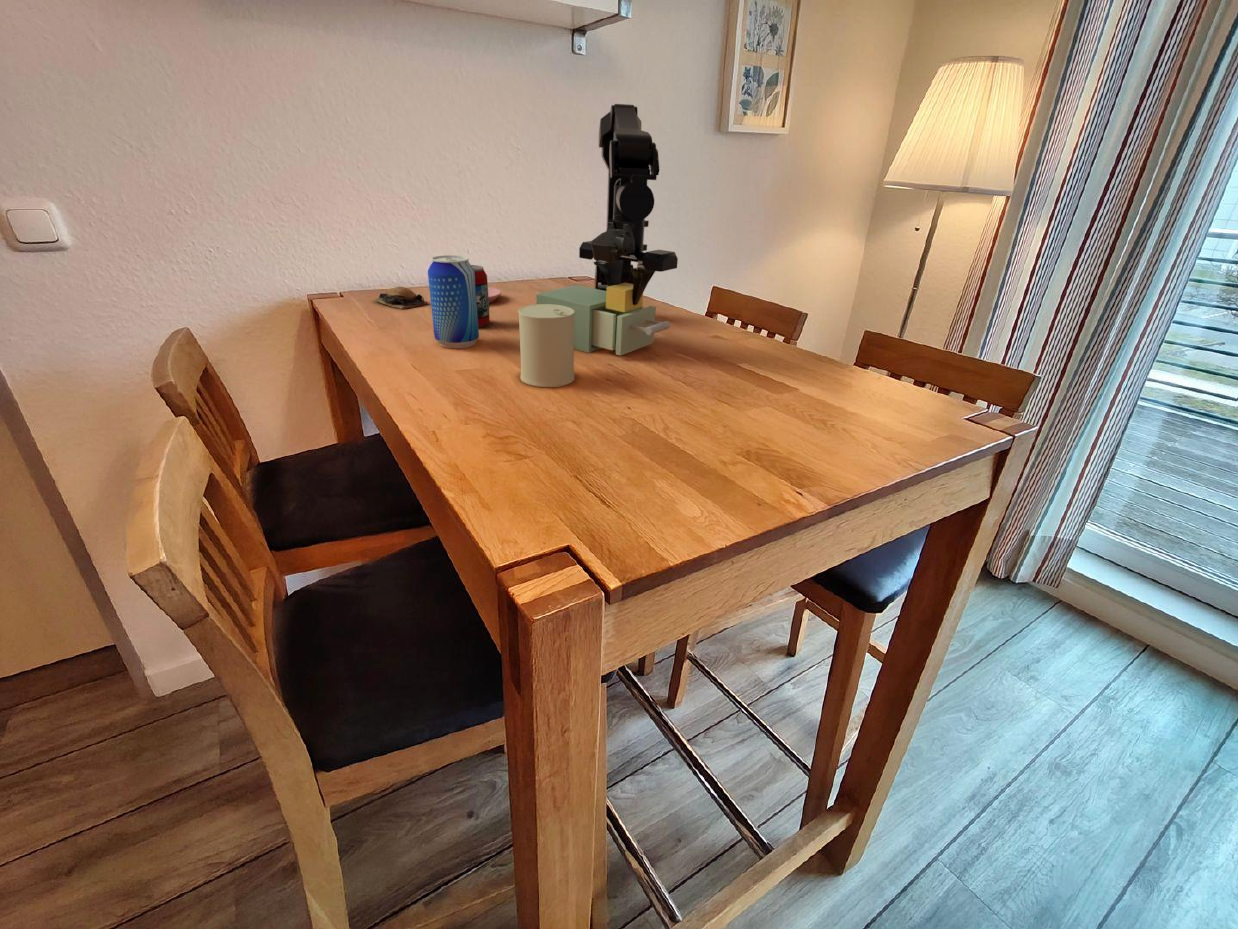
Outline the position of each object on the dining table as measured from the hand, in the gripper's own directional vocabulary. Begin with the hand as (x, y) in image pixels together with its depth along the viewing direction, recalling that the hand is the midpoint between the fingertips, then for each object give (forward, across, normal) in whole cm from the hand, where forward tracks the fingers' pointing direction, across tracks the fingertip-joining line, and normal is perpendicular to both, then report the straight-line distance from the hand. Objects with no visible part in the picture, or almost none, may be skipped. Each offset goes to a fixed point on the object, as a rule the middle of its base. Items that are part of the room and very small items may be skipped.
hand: (624, 302), depth 112 cm
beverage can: (+10, -34, -8) cm, 36 cm away
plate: (+10, -52, +7) cm, 53 cm away
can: (+9, 0, -22) cm, 24 cm away
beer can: (+10, -26, -20) cm, 34 cm away
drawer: (+8, 0, 0) cm, 8 cm away
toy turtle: (+10, -60, -8) cm, 62 cm away
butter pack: (+1, 0, 0) cm, 1 cm away
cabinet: (+9, -10, 0) cm, 14 cm away
